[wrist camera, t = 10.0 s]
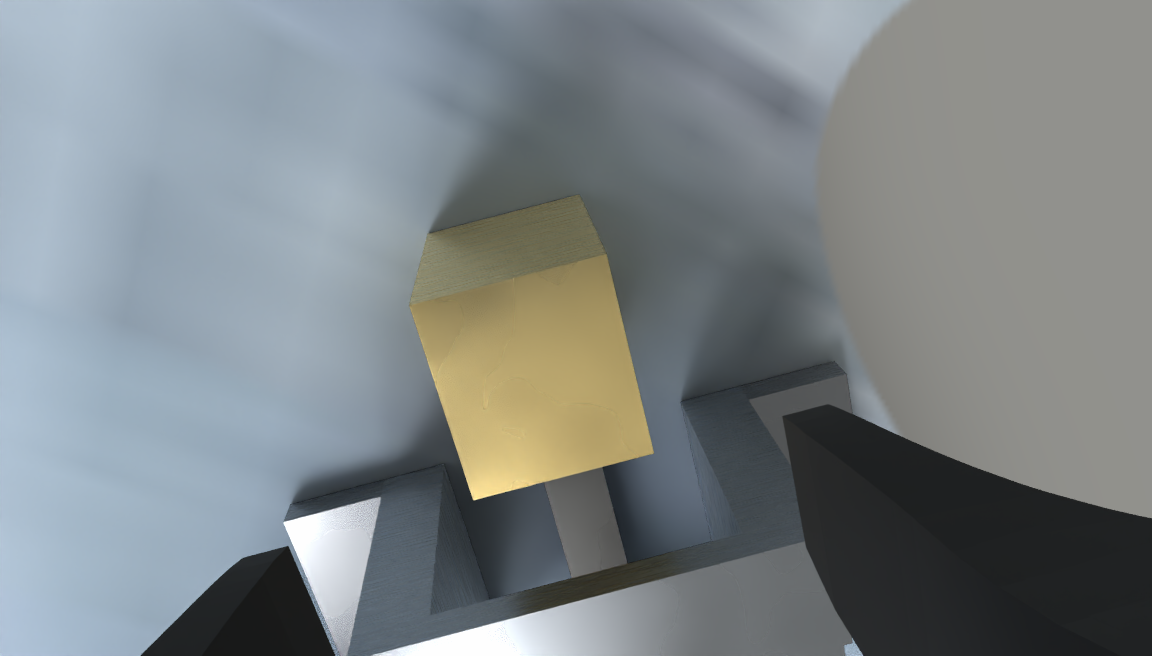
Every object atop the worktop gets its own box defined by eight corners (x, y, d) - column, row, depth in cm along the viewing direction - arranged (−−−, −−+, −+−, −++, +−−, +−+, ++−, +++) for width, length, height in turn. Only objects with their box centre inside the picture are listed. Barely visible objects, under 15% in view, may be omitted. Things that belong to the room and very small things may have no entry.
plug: (696, 676, 25) (743, 830, 21) (574, 707, 25) (594, 869, 20) (579, 194, 20) (606, 254, 16) (427, 233, 20) (408, 305, 16)
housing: (860, 530, 24) (986, 710, 18) (356, 662, 24) (311, 888, 18) (834, 361, 22) (964, 499, 16) (290, 504, 22) (215, 696, 16)
